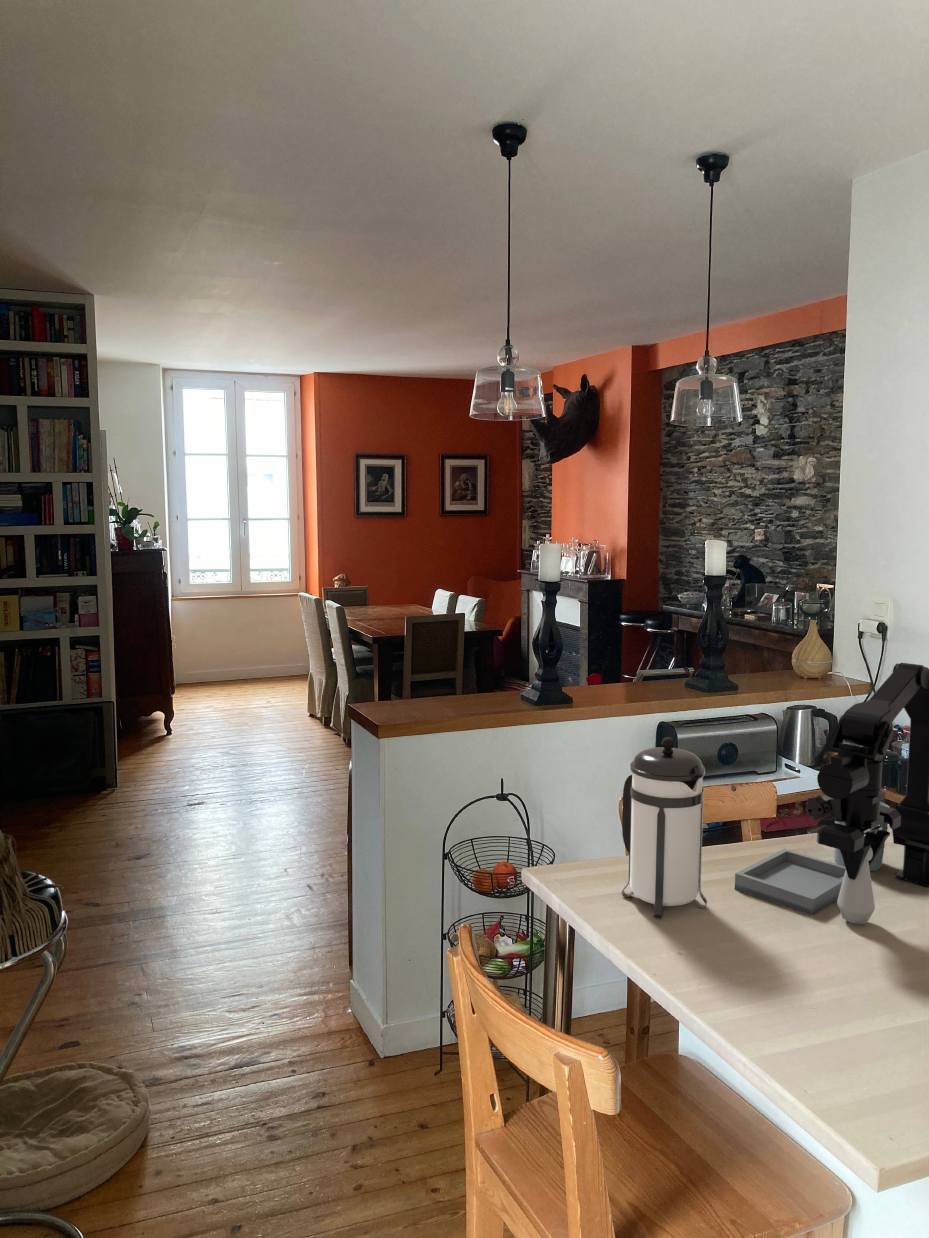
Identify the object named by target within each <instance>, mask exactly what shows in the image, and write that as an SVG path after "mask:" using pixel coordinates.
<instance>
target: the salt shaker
mask: <svg viewBox="0 0 929 1238" xmlns="http://www.w3.org/2000/svg"><path fill="white" fill-rule="evenodd" d="M872 856H873V851H872V848H871V847H870V848H869V850H868V853H867V855H866V857H865V860H864V862H863V864H862V867H861V869H860V871H859V873H858V875H857V878H856V879H855V880H853V879H849V878H848V875H847V871H845V874H844V878H843V882H842V885H841V889H840V893H839V896H838V900H837V901H836V902H837V907H838V909H839V912H840V914H841V917H842V920H845V921H847V922H849V923H851V924H862V925H863V924H866V923H867V922H868V921H869V920H870V919H871V917H872V915H873V913H874V912H875V908H876V907H875V906H876V905H875V897H874V891H873V884H872V878H871V877H872V876H871V871H870V869H869V862H868V861H870V860H871V859H872Z"/></svg>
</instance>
